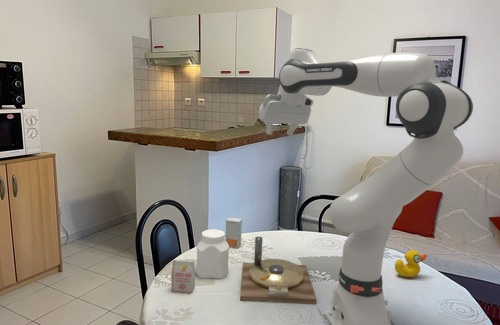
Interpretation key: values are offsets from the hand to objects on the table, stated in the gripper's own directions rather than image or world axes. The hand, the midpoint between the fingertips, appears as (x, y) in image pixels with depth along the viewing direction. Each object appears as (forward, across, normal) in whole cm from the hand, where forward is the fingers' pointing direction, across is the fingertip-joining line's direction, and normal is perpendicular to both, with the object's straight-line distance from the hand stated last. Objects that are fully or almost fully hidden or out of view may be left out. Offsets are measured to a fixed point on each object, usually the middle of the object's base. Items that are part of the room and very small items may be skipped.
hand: (279, 134), depth 128 cm
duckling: (+38, +43, -43) cm, 72 cm away
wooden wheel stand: (+46, -3, -23) cm, 52 cm away
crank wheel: (+45, -2, -21) cm, 50 cm away
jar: (+52, -18, -6) cm, 56 cm away
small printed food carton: (+52, -32, -12) cm, 62 cm away
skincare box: (+56, +2, +10) cm, 57 cm away
